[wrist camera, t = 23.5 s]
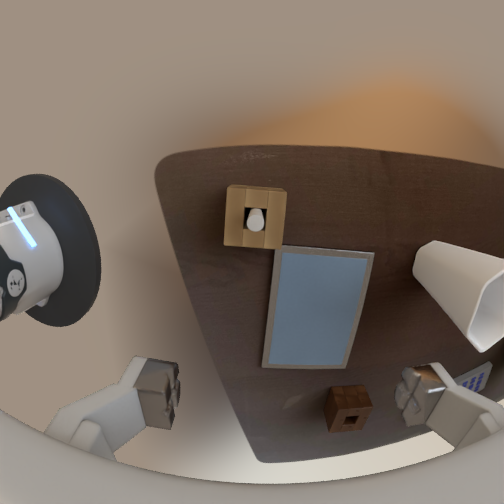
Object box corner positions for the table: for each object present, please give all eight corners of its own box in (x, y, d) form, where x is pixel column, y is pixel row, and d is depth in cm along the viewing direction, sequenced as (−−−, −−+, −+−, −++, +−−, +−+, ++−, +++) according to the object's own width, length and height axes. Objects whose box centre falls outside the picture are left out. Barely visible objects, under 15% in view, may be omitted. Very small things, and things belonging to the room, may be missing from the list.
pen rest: (228, 233, 38) (223, 245, 32) (231, 184, 36) (227, 187, 30) (277, 237, 38) (281, 250, 32) (282, 188, 36) (287, 192, 30)
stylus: (250, 215, 37) (246, 231, 23) (250, 204, 37) (247, 213, 23) (261, 216, 37) (263, 232, 23) (261, 205, 37) (264, 215, 23)
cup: (450, 220, 37) (527, 251, 20) (458, 275, 39) (523, 320, 23) (395, 248, 38) (465, 296, 22) (407, 304, 41) (465, 365, 24)
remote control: (480, 384, 48) (484, 389, 46) (407, 417, 49) (411, 424, 47) (488, 360, 45) (493, 365, 43) (413, 395, 47) (417, 401, 45)
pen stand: (323, 409, 47) (328, 432, 41) (331, 386, 45) (338, 409, 39) (354, 407, 47) (361, 429, 41) (363, 384, 45) (373, 406, 39)
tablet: (261, 364, 44) (261, 368, 43) (275, 243, 38) (275, 244, 37) (344, 365, 44) (345, 369, 43) (372, 251, 38) (375, 253, 37)
